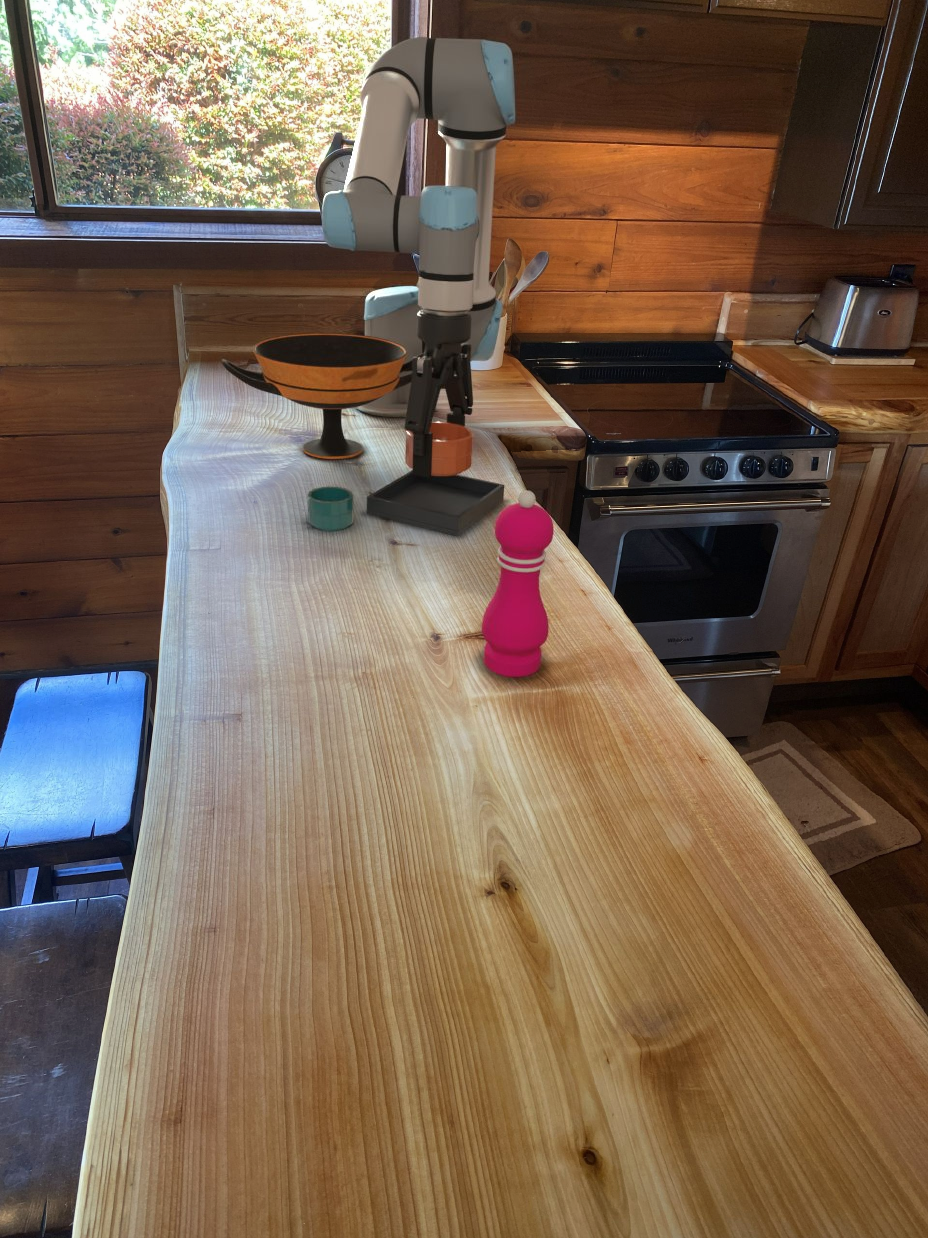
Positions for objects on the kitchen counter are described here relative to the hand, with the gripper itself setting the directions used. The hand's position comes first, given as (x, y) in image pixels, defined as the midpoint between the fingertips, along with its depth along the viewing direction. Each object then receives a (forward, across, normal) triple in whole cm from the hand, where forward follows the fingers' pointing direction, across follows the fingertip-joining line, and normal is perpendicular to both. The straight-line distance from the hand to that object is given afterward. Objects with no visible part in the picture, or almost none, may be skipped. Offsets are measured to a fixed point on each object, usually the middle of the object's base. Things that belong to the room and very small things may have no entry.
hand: (438, 465), depth 135 cm
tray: (+7, 0, 0) cm, 7 cm away
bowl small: (+7, +14, -10) cm, 18 cm away
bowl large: (0, 0, 0) cm, 0 cm away
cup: (+7, -14, -28) cm, 32 cm away
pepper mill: (+7, +36, +28) cm, 46 cm away
